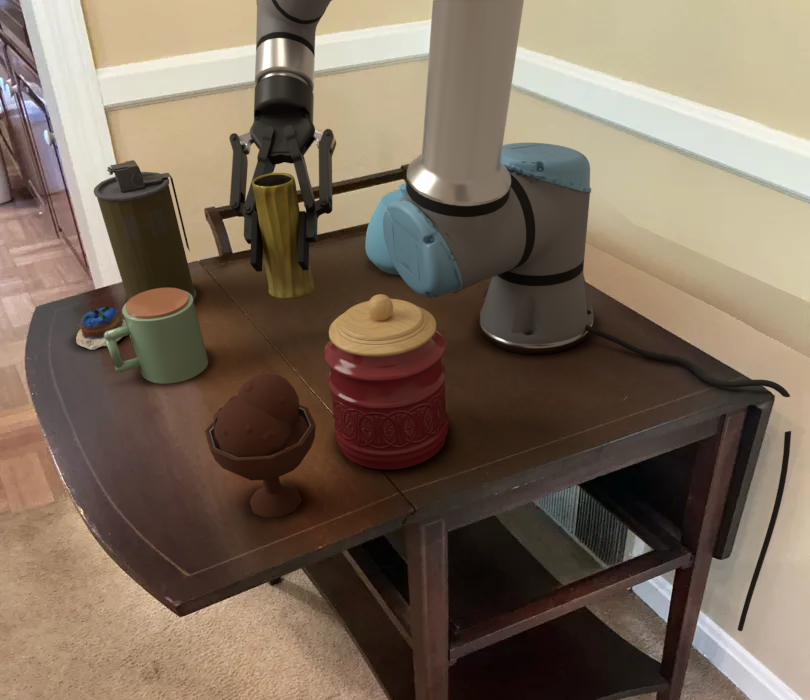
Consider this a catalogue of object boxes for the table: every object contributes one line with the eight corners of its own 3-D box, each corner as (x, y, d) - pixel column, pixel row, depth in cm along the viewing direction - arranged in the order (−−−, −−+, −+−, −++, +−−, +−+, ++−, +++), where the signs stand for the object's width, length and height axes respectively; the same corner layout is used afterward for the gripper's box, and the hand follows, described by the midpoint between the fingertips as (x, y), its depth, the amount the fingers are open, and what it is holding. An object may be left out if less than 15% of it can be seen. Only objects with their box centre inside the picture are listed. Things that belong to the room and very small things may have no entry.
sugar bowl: (375, 285, 129) (368, 209, 121) (359, 248, 140) (352, 175, 132) (471, 271, 130) (470, 194, 123) (447, 235, 141) (445, 162, 134)
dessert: (109, 312, 126) (110, 288, 121) (138, 345, 126) (140, 322, 120) (63, 337, 122) (62, 313, 117) (93, 371, 122) (93, 349, 117)
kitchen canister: (315, 437, 99) (292, 296, 87) (403, 396, 104) (392, 258, 93) (380, 488, 91) (364, 340, 79) (472, 440, 96) (469, 295, 85)
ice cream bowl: (270, 460, 96) (245, 341, 86) (347, 491, 91) (329, 369, 81) (203, 511, 90) (168, 389, 80) (281, 548, 85) (253, 422, 75)
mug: (217, 370, 112) (202, 304, 106) (129, 398, 108) (107, 332, 102) (195, 343, 118) (179, 279, 112) (111, 369, 114) (89, 304, 108)
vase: (306, 300, 110) (289, 188, 100) (262, 299, 111) (240, 188, 102) (319, 280, 114) (303, 170, 105) (276, 279, 115) (257, 171, 106)
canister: (134, 322, 125) (92, 183, 111) (123, 295, 132) (82, 161, 119) (206, 304, 128) (174, 167, 114) (191, 279, 135) (158, 147, 122)
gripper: (360, 102, 111) (356, 275, 109) (224, 109, 113) (219, 279, 112) (349, 67, 103) (345, 252, 102) (204, 75, 106) (198, 257, 104)
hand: (279, 266), depth 107 cm, fingers closed on vase, 5 cm apart
